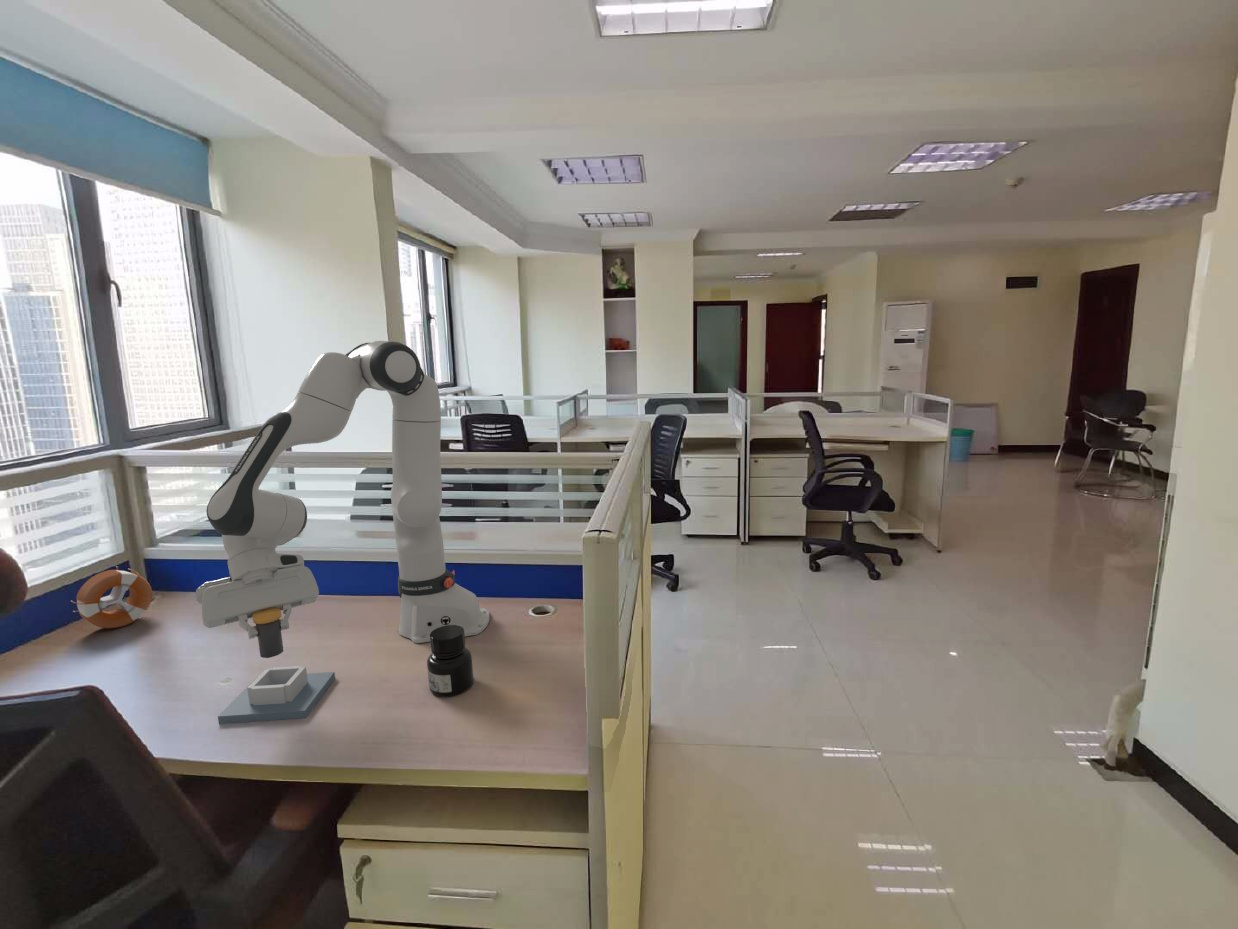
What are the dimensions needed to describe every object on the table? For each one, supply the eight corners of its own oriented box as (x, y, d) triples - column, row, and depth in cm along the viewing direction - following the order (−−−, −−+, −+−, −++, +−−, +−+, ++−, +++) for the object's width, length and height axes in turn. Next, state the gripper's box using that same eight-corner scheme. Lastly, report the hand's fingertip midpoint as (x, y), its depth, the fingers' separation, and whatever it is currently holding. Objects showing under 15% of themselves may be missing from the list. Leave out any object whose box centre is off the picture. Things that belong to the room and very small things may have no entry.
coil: (157, 616, 160) (148, 565, 157) (87, 639, 148) (75, 584, 145) (147, 611, 164) (137, 560, 161) (77, 633, 151) (65, 579, 149)
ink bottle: (422, 683, 123) (417, 630, 121) (462, 669, 128) (458, 618, 126) (439, 704, 115) (434, 648, 113) (481, 688, 120) (477, 634, 118)
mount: (335, 678, 126) (332, 656, 125) (305, 717, 112) (302, 694, 111) (258, 683, 125) (254, 661, 124) (218, 723, 111) (214, 699, 110)
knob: (290, 646, 119) (285, 607, 117) (278, 658, 114) (273, 617, 113) (265, 647, 119) (260, 608, 117) (252, 659, 114) (247, 618, 112)
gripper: (193, 577, 112) (205, 642, 107) (310, 553, 125) (326, 611, 119) (194, 592, 117) (206, 656, 111) (308, 568, 129) (323, 624, 124)
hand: (269, 632), depth 115 cm, fingers closed on knob, 4 cm apart
